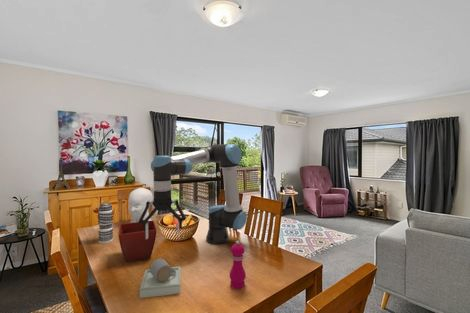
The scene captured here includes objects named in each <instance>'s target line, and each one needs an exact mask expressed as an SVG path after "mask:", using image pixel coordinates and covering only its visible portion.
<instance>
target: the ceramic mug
mask: <svg viewBox="0 0 470 313" xmlns="http://www.w3.org/2000/svg"><path fill="white" fill-rule="evenodd" d="M149 269H150V273H151V274H152V275H153V276H154V277H155V278H156V280H158V281H160V282H164V281H166V280H168V279H169V278H170V276H175V275H176V271H175V270H174V269H172V268H171V265H169V263H168V262H167V261H166V260H165V259H163V258H156V259H155V260H153V261H152V263H151V265H150V267H149Z"/></svg>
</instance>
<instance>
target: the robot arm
mask: <svg viewBox="0 0 470 313" xmlns="http://www.w3.org/2000/svg"><path fill="white" fill-rule="evenodd" d="M242 157H243V155H242V151H241V148H240V147H239V146H238V145H237V144H234V143H233V144H231V143H225V144H224V143H223V144H222V143H220V144H218V143H217V144H212V145H209V146H205V147H201V148H199V149H198V150H195V151H191V152H186V153H182V154H177V155H172V156H170V155H155V156H154V157H153V160H152V161H151V162H150V169H151V171H152V173H153V174H152V175H153V201H152V202H150V201H147V202H146V208H145V210H144V212H143V214H142V216H141V217H140V219H139V223H142V224H143V231H146V239H148V223H146V222H147V221H148V220H149V219H150V218H151V219H152V216H154V214H155V213H156V212H157V211H158V212H163V211H164V212H166V211H169V212H170V213H171V214H172V215H173V217H174V218H175V219H177V238H179V237H180V230H181V229H182V228H183V225H182V224H183V221H186V219H187V217H186V215H185V213H184V211H183V209H182V208H181V206H180V203H179V199H175V200H172V190H171V189H172V176H180V175H181V176H182V175H188V174H189V173H191V171H192V168H193V167H192V166H194V165H198V164H208V163H214V164H216V163H217V164H218V165H219V168H220V169H222V170H221V171H222V174H223V175H222V177H223V178H222V179H223V186H224V188H223V189H224V197H225V204H218V205H213V206H210V207H209V209H208V230H207V234H206V236H205V237H206V239H205V241H206V242H207V243H208V244H213V245H222V244H225V243H227V242H228V241H229V240H230V239H229V238H230V237H229V233H228V230H227V228H229V229H233V230H237V231H238V230H242V229H243V228H244V227H245V225H246V223H247V220H248V215H247V214H248V213H246V211H244V210H243V205H241V204H240V195H239V183H238V182H239V181H238V174H237V168H238V167H239V164H240V163H241V161H242ZM172 204H173V206H175V208H177V211H178V212H179V214H180V215H179V214H178V213H177V212H176V211H175V209H174V208H173V207H172ZM151 206H153V207H154V208H153V209H152V210H151V212H150V213H149V215H148V216H147V218H146V219H145V220H143V218H144V216H145V214H146V212H147V210H148V211H149V209H150V207H151Z"/></svg>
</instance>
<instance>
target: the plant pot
mask: <svg viewBox="0 0 470 313" xmlns="http://www.w3.org/2000/svg"><path fill="white" fill-rule="evenodd" d="M146 223H148V239H146V231H143V224H142V223H139V222H135V223H130V222H127V223H120V224H119V227H118V232H117V233H118V240H119V245H120V250H121V253H122V255H123V259H124V260H125V261H124V262H126V263H129V262H134V261H135V262H136V261H140V260H147V259H151V257H152V254H153V250H154V247H155V244H156V243H155V242H156V238H157V227H156V223H155V220H152V221H147V222H146Z"/></svg>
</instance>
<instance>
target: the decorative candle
mask: <svg viewBox="0 0 470 313" xmlns="http://www.w3.org/2000/svg"><path fill="white" fill-rule="evenodd" d="M113 215H114V210H113V204H111V202H103V203H102V202H101V203H100V204H99V205H98V214H97V219H98V224H97V225H98V227H99V228H98V239H97V240H98V243H99V244H107V243H111V242H112V241H113V240H114V238H113V237H114V234H113V233H114V232H113V230H114V229H113V223H114V222H113V220H114V216H113Z"/></svg>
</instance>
